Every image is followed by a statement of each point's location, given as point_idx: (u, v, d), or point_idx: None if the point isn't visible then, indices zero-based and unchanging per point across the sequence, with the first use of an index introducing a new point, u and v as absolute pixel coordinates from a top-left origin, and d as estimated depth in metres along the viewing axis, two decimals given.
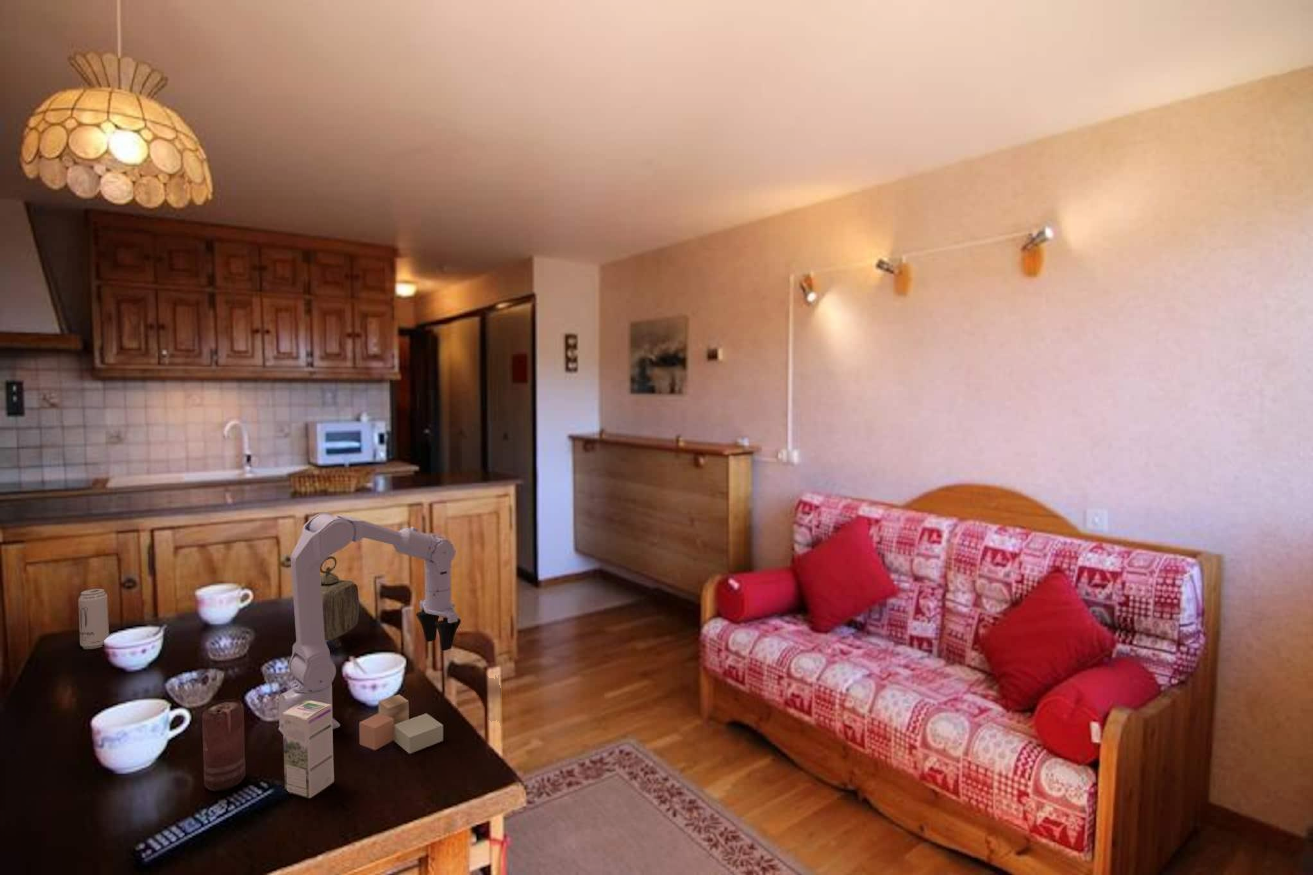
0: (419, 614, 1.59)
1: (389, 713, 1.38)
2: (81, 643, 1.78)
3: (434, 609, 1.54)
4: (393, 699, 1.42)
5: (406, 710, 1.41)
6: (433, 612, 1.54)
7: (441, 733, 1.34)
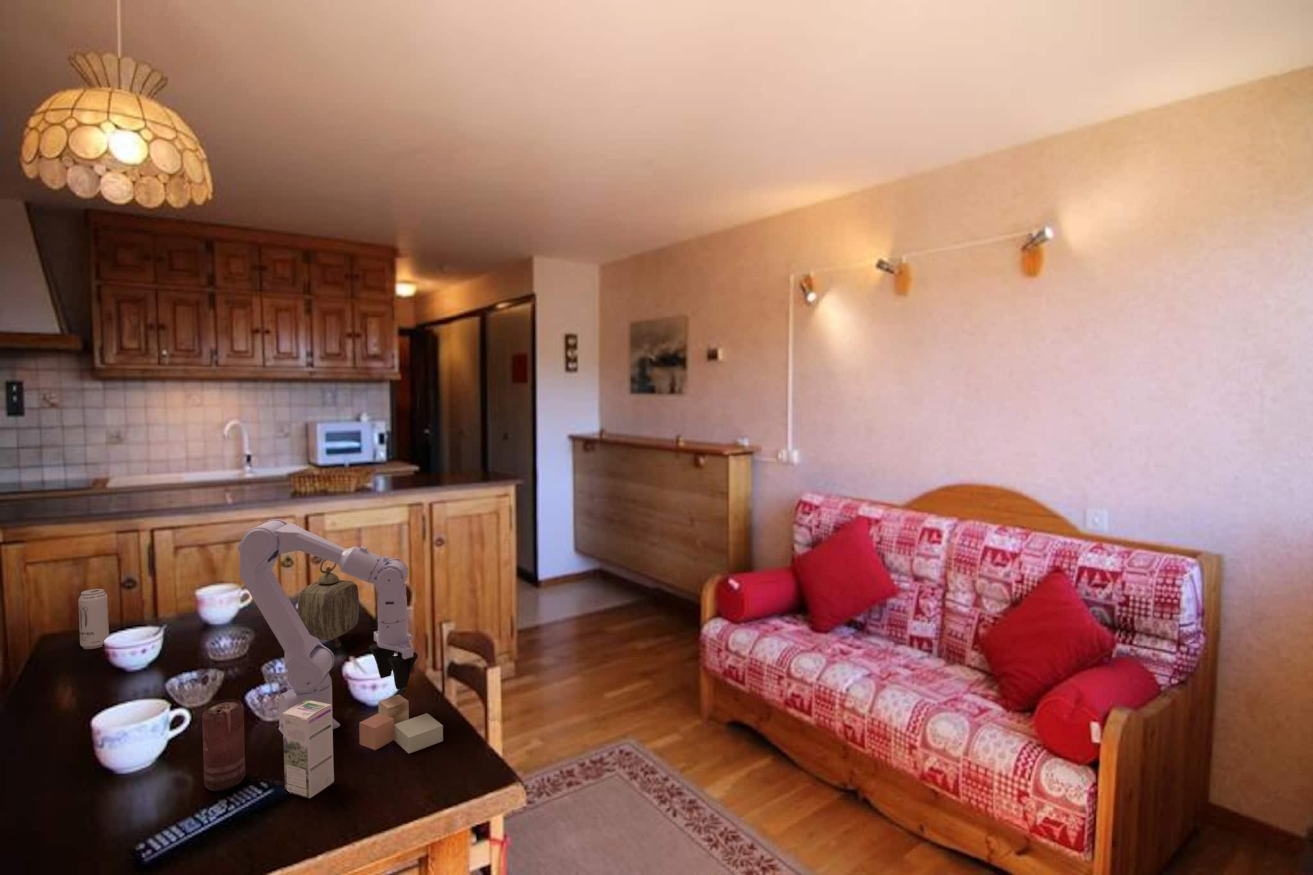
0: (372, 647, 1.42)
1: (389, 713, 1.38)
2: (81, 643, 1.78)
3: (387, 643, 1.38)
4: (393, 699, 1.42)
5: (406, 710, 1.41)
6: (386, 646, 1.37)
7: (441, 733, 1.34)
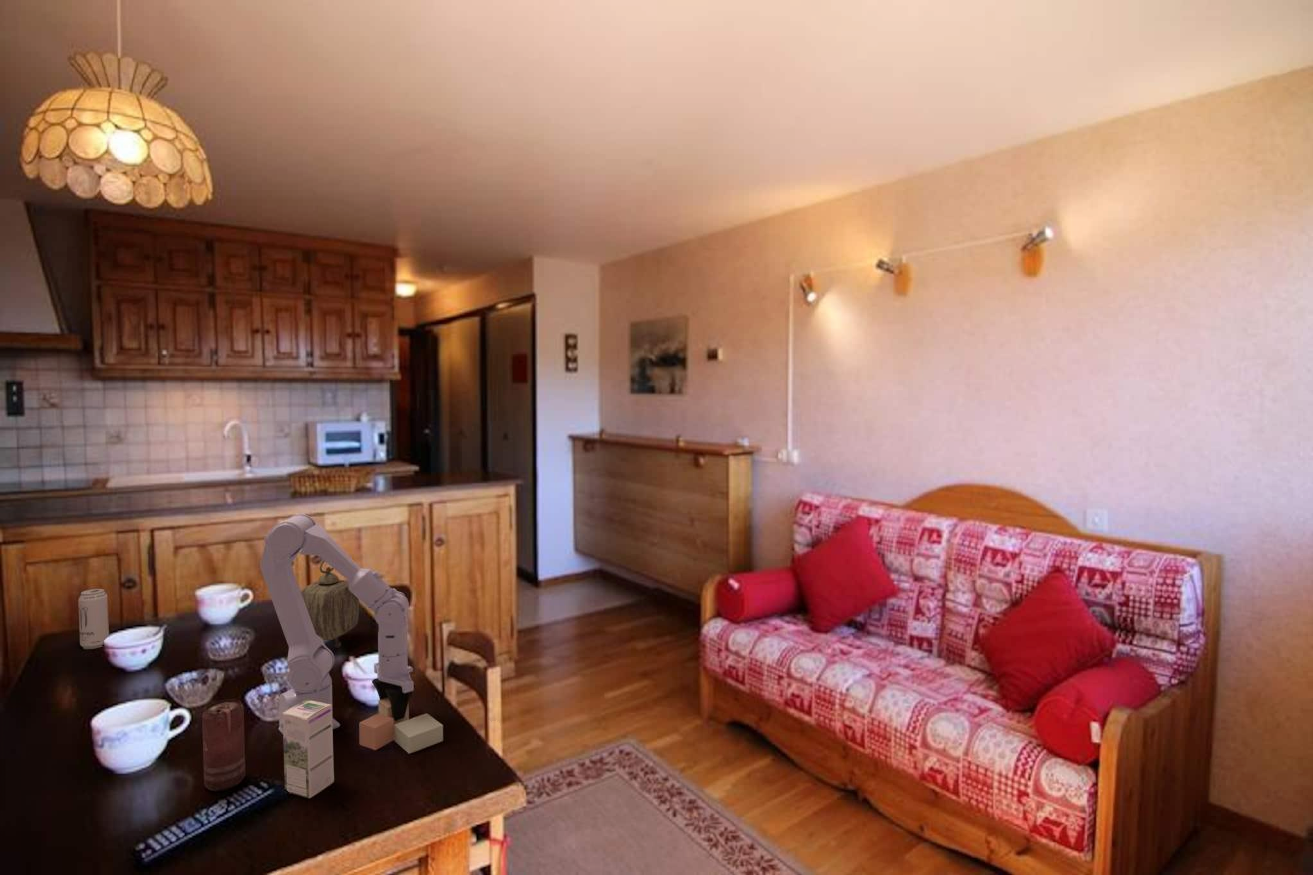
0: (375, 682, 1.42)
1: (389, 713, 1.38)
2: (81, 643, 1.78)
3: (388, 676, 1.38)
4: None
5: (406, 709, 1.41)
6: (386, 680, 1.38)
7: (441, 733, 1.34)
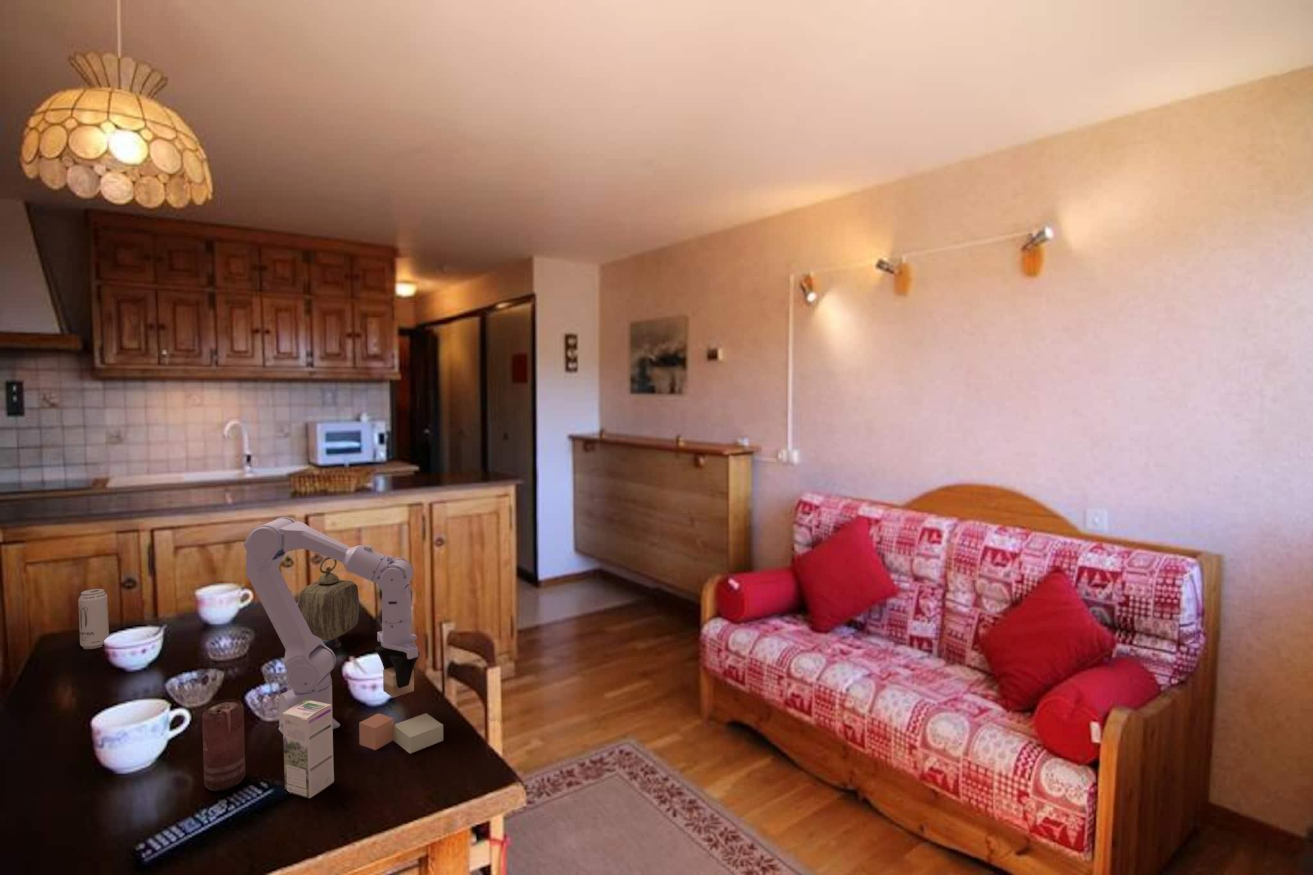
0: (379, 649, 1.40)
1: (394, 681, 1.37)
2: (81, 643, 1.78)
3: (392, 643, 1.36)
4: None
5: (412, 679, 1.40)
6: (391, 646, 1.36)
7: (441, 733, 1.34)
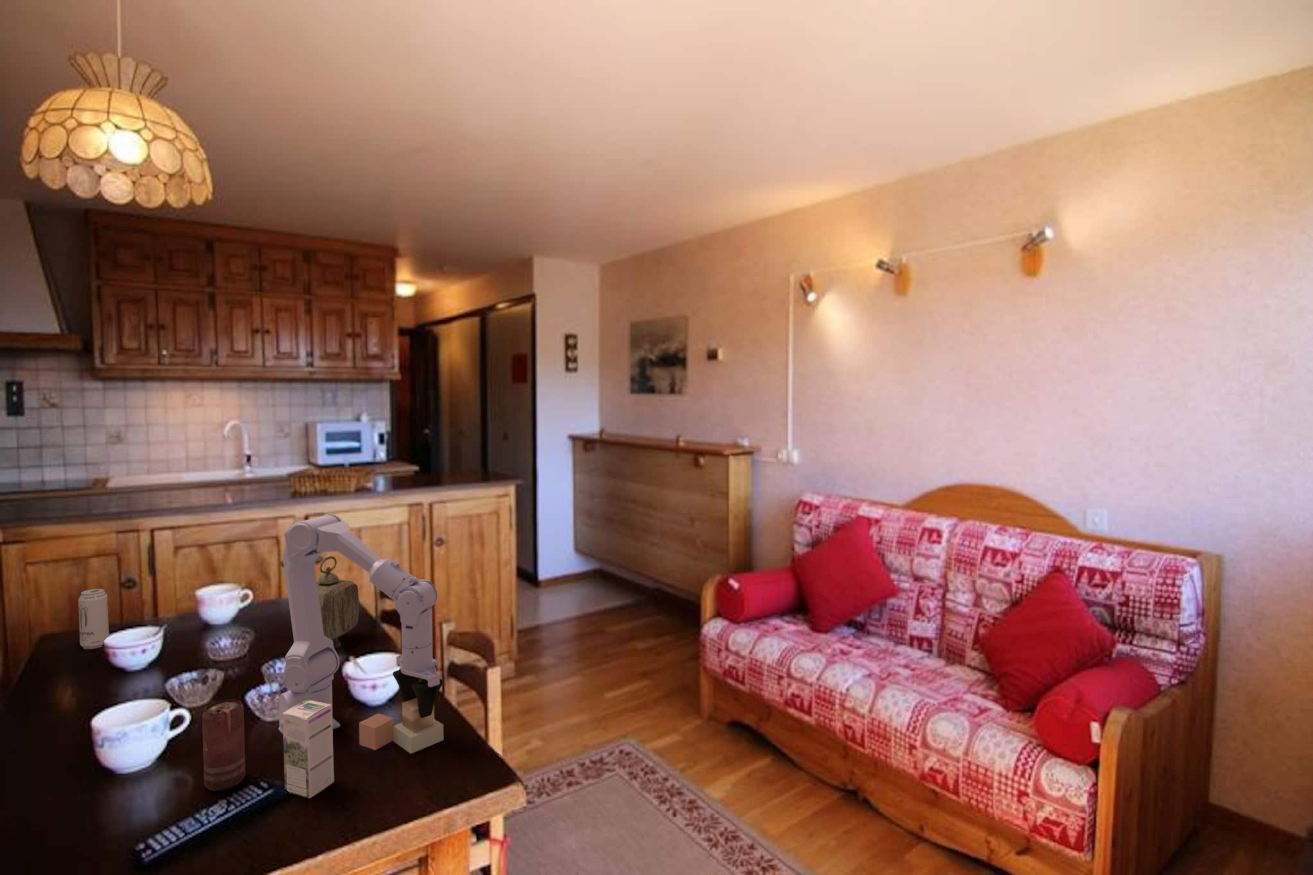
0: (396, 674, 1.34)
1: (414, 716, 1.31)
2: (81, 643, 1.78)
3: (412, 669, 1.30)
4: None
5: (432, 712, 1.33)
6: (411, 673, 1.30)
7: (441, 733, 1.34)
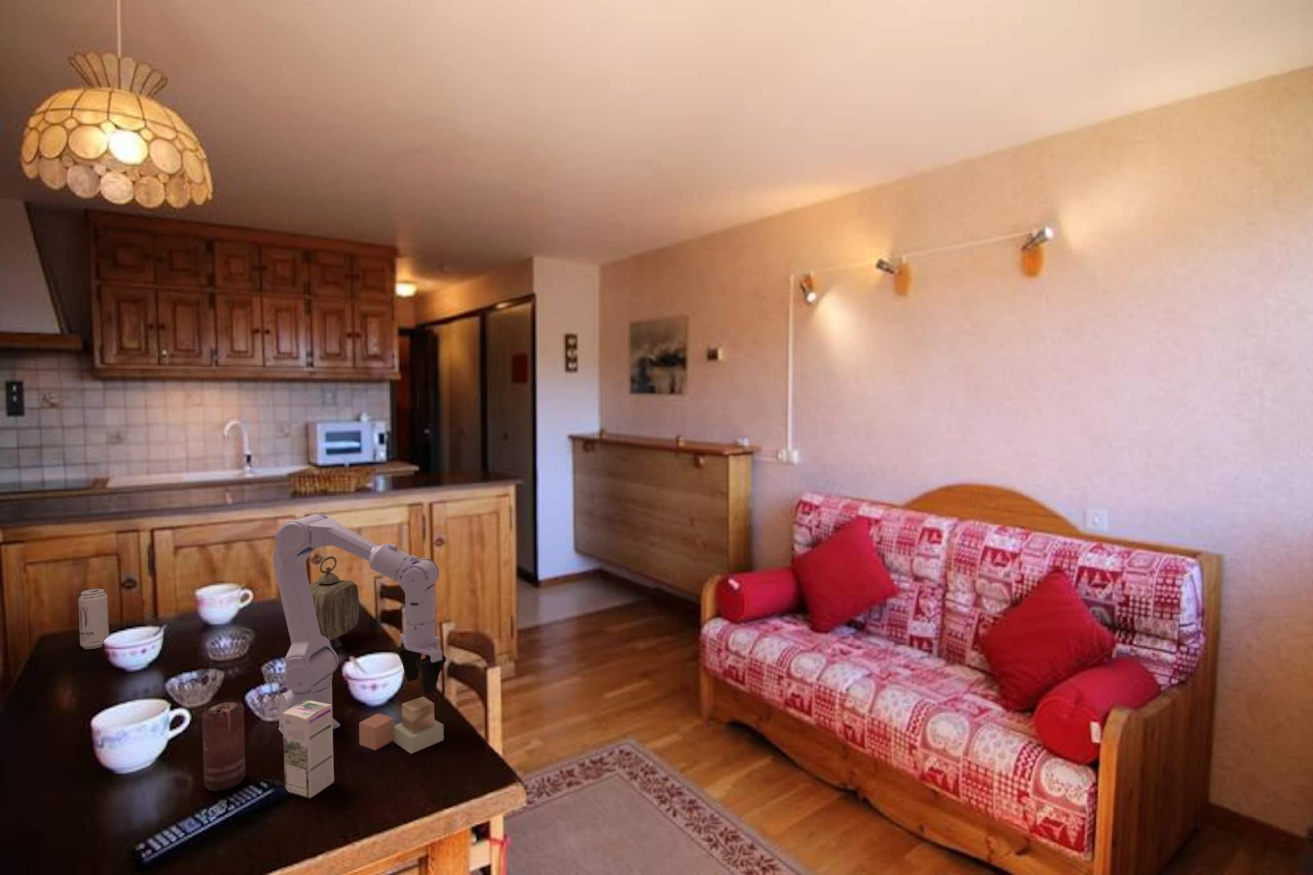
0: (399, 650, 1.37)
1: (414, 716, 1.30)
2: (81, 643, 1.78)
3: (415, 645, 1.33)
4: (417, 701, 1.34)
5: (432, 713, 1.33)
6: (414, 649, 1.32)
7: (441, 733, 1.34)
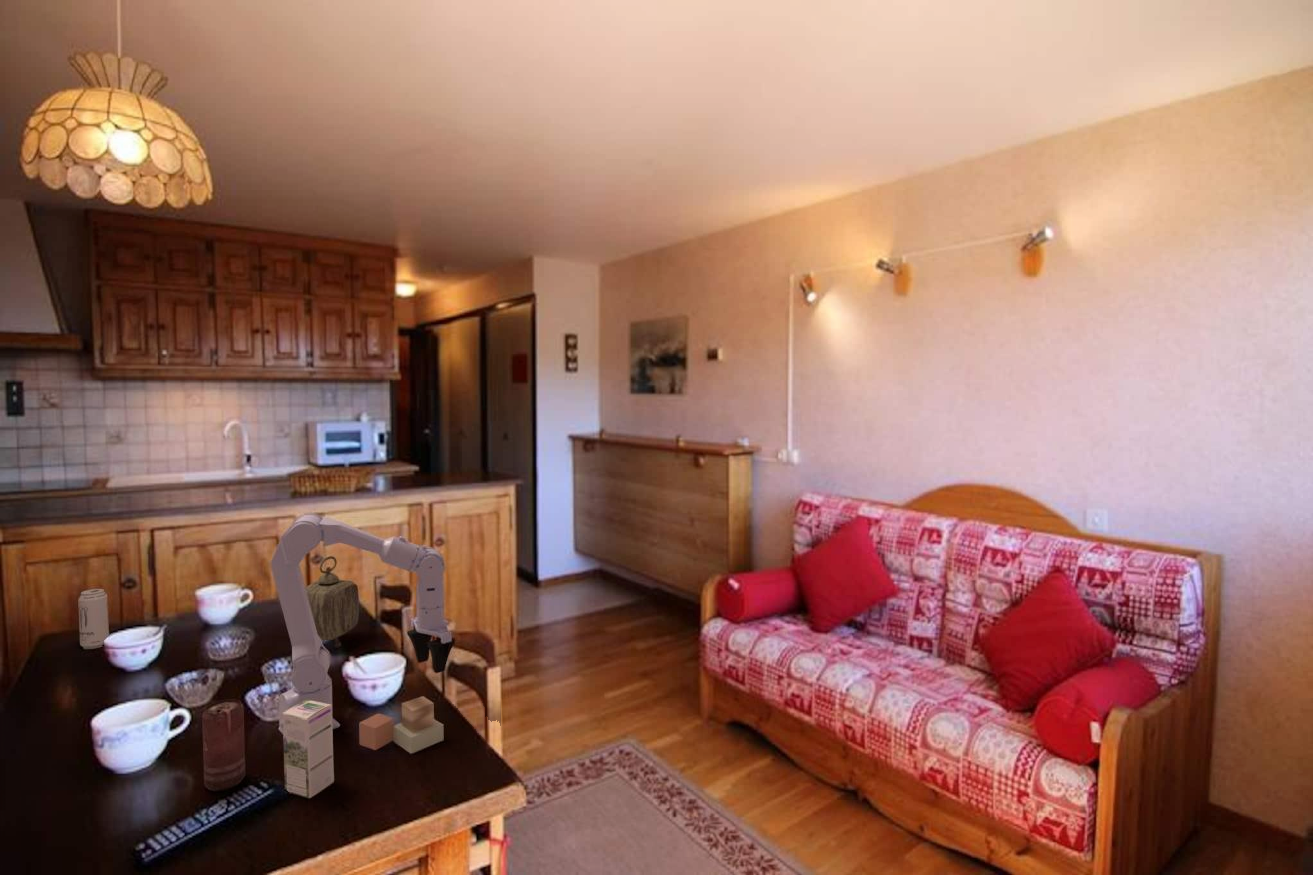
0: (410, 633, 1.47)
1: (414, 716, 1.31)
2: (81, 643, 1.78)
3: (426, 628, 1.43)
4: (417, 701, 1.34)
5: (431, 713, 1.33)
6: (425, 631, 1.42)
7: (442, 733, 1.34)
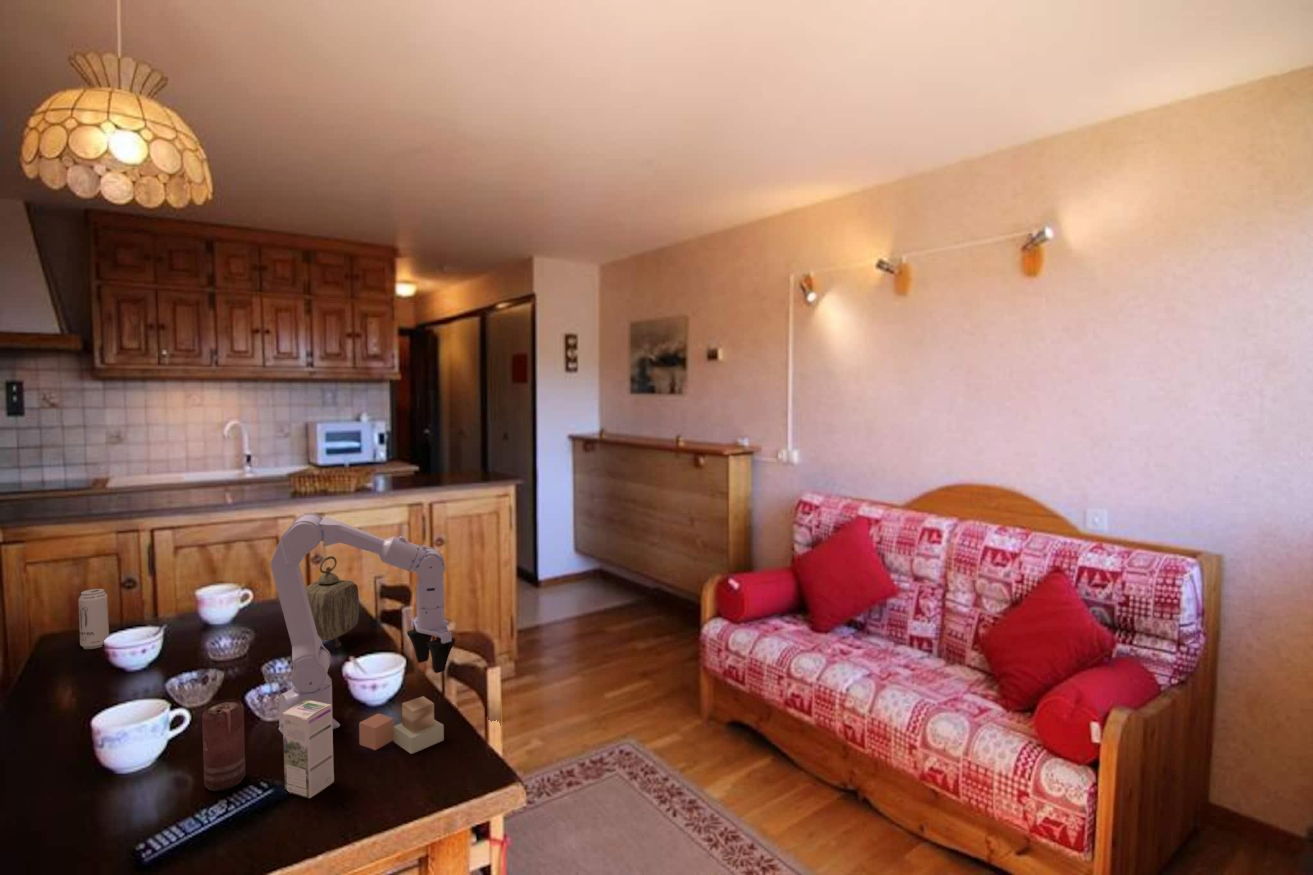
0: (410, 633, 1.47)
1: (414, 716, 1.31)
2: (81, 643, 1.78)
3: (426, 628, 1.43)
4: (417, 701, 1.34)
5: (432, 713, 1.33)
6: (425, 631, 1.42)
7: (442, 733, 1.34)
